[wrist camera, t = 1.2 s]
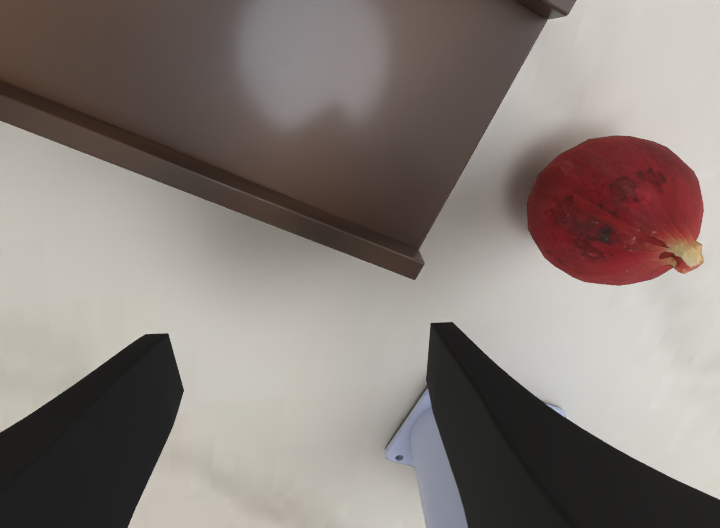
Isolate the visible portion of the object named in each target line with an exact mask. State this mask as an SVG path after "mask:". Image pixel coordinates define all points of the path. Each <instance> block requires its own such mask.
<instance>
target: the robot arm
mask: <svg viewBox="0 0 720 528" xmlns="http://www.w3.org/2000/svg"><path fill="white" fill-rule="evenodd" d="M426 381H427V386H428V388H427V389H426V391H425V392H424V393H423V395H422V396H421V398H420V399H419V401H418V402H417V404H416V405H415V407H414V408H413V410H412V411H411V413H410V414H409V416H408V417H407V419H406V420H405V421H404V423H403V424H402V426H401V427H400V429H399V430H398V432H397V433H396V435H395V436H394V438H393V439H392V441H391V442H390V444H389V445H388V447H387V448H386V449H385V457H386V459H388V460H391V461H394V462H398V463H402V464H406V465H409V466H413V467H415V472H416V477H417V482H418V488H419V493H420V498H421V503H422V508H423V513H424V519H425V524H426V528H720V500H719V499H717V498H715V497H712V496H710V495H708V494H706V493H704V492H701V491H699V490H697V489H695V488H692V487H690V486H688V485H686V484H684V483H681V482H679V481H677V480H675V479H673V478H671V477H669V476H667V475H665V474H663V473H661V472H659V471H657V470H655V469H653V468H651V467H649V466H647V465H645V464H643V463H641V462H639V461H638V460H636V459H634V458H632V457H630V456H628V455H626V454H625V453H623V452H621V451H619V450H617V449H616V448H614V447H612V446H610V445H609V444H607V443H605V442H604V441H602V440H600V439H599V438H597V437H595V436H594V435H592V434H590V433H589V432H587V431H585V430H584V429H582V428H580V427H579V426H577V425H576V424H574V423H573V422H571V421H570V420H568V419H567V418H566V414H565V412H564V411H563V410H562V409H561V408H558V407H555V406H552V405H549V404H546V403H544V402H542V401H541V400H539V399H538V398H537V397H535V396H534V395H533V394H532V393H530V392H529V391H528V390H527V389H525V388H524V387H523V386H522V385H520V384H519V383H518V382H517V381H515V380H514V379H513V378H512V377H511V376H509V375H508V374H507V373H506V372H505V371H503V370H502V369H501V368H500V367H499V366H498V365H497V364H496V363H495V362H493V361H492V360H491V359H490V358H489V357H488V356H487V355H486V354H485V353H484V352H483V351H482V350H481V349H480V348H478V347H477V346H476V345H475V344H474V343H473V342H472V341H471V340H470V339H469V338H468V337H467V336H466V335H465V334H464V333H463V332H462V331H461V330H460V329H459V328H458V327H457V326H456V325H455V324H454V323H453V322H446V323H431V327H430V340H429V352H428V364H427V376H426ZM183 392H184V389H183V385H182V382H181V378H180V375H179V371H178V367H177V364H176V360H175V356H174V353H173V349H172V345H171V342H170V338H169V334H168V333H167V334H145V335H144V336H142V337H140V338H139V339H137V340H136V341H134V342H133V343H132V344H130V345H129V346H127V347H126V348H124V349H123V350H122V351H120V352H119V353H118V354H116V355H115V356H113V357H112V358H111V359H109V360H108V361H107V362H105V363H104V364H102V365H101V366H100V367H98V368H97V369H95V370H94V371H93V372H91V373H90V374H89V375H87V376H86V377H84V378H83V379H82V380H80V381H79V382H77V383H76V384H75V385H73V386H72V387H70V388H69V389H67V390H66V391H64V392H63V393H61V394H60V395H58V396H57V397H55V398H54V399H52V400H51V401H49V402H48V403H46V404H45V405H43V406H42V407H40V408H39V409H38V410H36V411H35V412H33V413H32V414H30V415H28V416H27V417H25V418H24V419H22V420H20V421H19V422H17V423H16V424H14V425H12V426H11V427H9V428H7V429H6V430H4V431H2V432H1V433H0V528H128V525H129V523H130V520H131V518H132V516H133V513H134V511H135V508H136V506H137V504H138V502H139V500H140V497H141V495H142V493H143V491H144V489H145V487H146V484H147V482H148V480H149V478H150V476H151V474H152V471H153V469H154V467H155V465H156V463H157V461H158V458H159V456H160V454H161V452H162V450H163V447H164V445H165V443H166V441H167V439H168V436H169V434H170V432H171V429H172V427H173V425H174V422H175V419H176V415H177V412H178V409H179V406H180V402H181V399H182V395H183Z"/></svg>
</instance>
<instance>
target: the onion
mask: <svg viewBox="0 0 720 528" xmlns="http://www.w3.org/2000/svg"><path fill="white" fill-rule="evenodd" d="M703 212H704V210H703V200H702V195H701V191H700V186H699V181H698V179H697V177H696V175H695V173H694V171H693V170H692V169H691V168H690V167H688V166H687V165H686V164H685V163H684V162H683V161H682V160H681V159H680V158H679V157H678V156H677V155H676V154H674V153H673V152H672V151H671V150H670V149H669V148H667V147H665V146H663V145H660V144H658V143H656V142H653V141H649V140H644V139H640V138H635V137H631V136H609V137H602V138H595V139H589V140H587V141H585V142H583V143H581V144H579V145H577V146H575V147H573V148H571V149H569V150H567V151H566V152H564V153H562V154H560V155H558V156H557V157H556V158H555V159H554V160H553V161H552V162H551V163H550V164H549V165H548V166H547V167H546V168H545V169H544V170H543V171H542V172H541V173H540V174H539V175H538V176H537V179H536V181H535V183H534V186H533V188H532V190H531V193H530V195H529V197H528V202H527V221H528V230H529V232H530V234H531V236H532V238H533V240H534V241H535V243H536V245H537V246H538V248H539V249H540V251H541V253H542V254H543V256H544V258H546V259H547V260H548V261H549V262H550V263H551V264H553V265H554V266H555V267H557V268H559V269H560V270H562V271H564V272H565V273H567V274H569V275H570V276H572V277H574V278H576V279H579V280H581V281H583V282H589V283H597V284H607V285H618V286H620V285H627V284H633V283H637V282H642V281H647V280H651V279H654V278H656V277H658V276H660V275H662V274H663V273H665V272H667V271H668V270H670V269H672V268H674V269H676V270H677V271H678V272H680V273H683V274H685V273H687V272H689V271H691V270H693V269H695V268H697V267H699V266H700V265H701V264H702V263H703V262H704V260H703V256H702V244H700V243H698V242H697V241H696V240H697V238H698V236H699V233H700V228H701V223H702V217H703Z"/></svg>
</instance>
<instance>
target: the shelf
mask: <svg viewBox="0 0 720 528" xmlns="http://www.w3.org/2000/svg"><path fill="white" fill-rule="evenodd" d="M575 2H576V0H0V121H3V122H5V123H8V124H11V125H13V126H16V127H18V128H21V129H24V130H26V131H29V132H31V133H34V134H37V135H39V136H42V137H44V138H47V139H50V140H52V141H55V142H57V143H60V144H63V145H65V146H68V147H70V148H73V149H76V150H78V151H81V152H83V153H86V154H89V155H91V156H94V157H96V158H99V159H102V160H104V161H107V162H109V163H112V164H115V165H117V166H120V167H122V168H125V169H128V170H130V171H133V172H135V173H138V174H141V175H143V176H146V177H148V178H151V179H154V180H156V181H159V182H161V183H164V184H167V185H169V186H172V187H174V188H177V189H179V190H182V191H185V192H187V193H190V194H192V195H195V196H198V197H200V198H203V199H205V200H208V201H211V202H213V203H216V204H218V205H221V206H224V207H226V208H229V209H231V210H234V211H237V212H239V213H242V214H244V215H247V216H250V217H252V218H255V219H257V220H260V221H263V222H265V223H268V224H270V225H273V226H276V227H278V228H281V229H283V230H286V231H289V232H291V233H294V234H296V235H299V236H302V237H304V238H307V239H309V240H312V241H315V242H317V243H320V244H322V245H325V246H328V247H330V248H333V249H335V250H338V251H340V252H343V253H346V254H348V255H351V256H353V257H356V258H359V259H361V260H364V261H366V262H369V263H372V264H374V265H377V266H379V267H382V268H385V269H387V270H390V271H392V272H395V273H398V274H400V275H403V276H405V277H408V278H411V279H413V280H415V279H416V278H417V276H418V274H419V273H420V271H421V269H422V268H423V266H424V260H423V258H422V256H421V254H420V251H419V248H420V247H421V245H422V243H423V241H424V239H425V238H426V236H427V234H428V232H429V230H430V229H431V227H432V225H433V223H434V222H435V220H436V218H437V216H438V214H439V213H440V211H441V209H442V207H443V205H444V204H445V202H446V200H447V198H448V197H449V195H450V193H451V191H452V189H453V188H454V186H455V184H456V182H457V181H458V179H459V177H460V175H461V173H462V172H463V170H464V168H465V166H466V164H467V163H468V161H469V159H470V157H471V156H472V154H473V152H474V150H475V148H476V147H477V145H478V143H479V141H480V139H481V138H482V136H483V134H484V132H485V131H486V129H487V127H488V125H489V123H490V122H491V120H492V118H493V116H494V115H495V113H496V111H497V109H498V107H499V106H500V104H501V102H502V100H503V98H504V97H505V95H506V93H507V91H508V90H509V88H510V86H511V84H512V82H513V81H514V79H515V77H516V75H517V73H518V72H519V70H520V68H521V66H522V65H523V63H524V61H525V59H526V57H527V56H528V54H529V52H530V50H531V49H532V47H533V45H534V43H535V41H536V40H537V38H538V36H539V34H540V32H541V31H542V29H543V27H544V25H545V24H546V22H547V20H548V19H553V18H559V17H564V16H567V15H568V14H569V12H570V10H571V9H572V7H573V5H574V3H575Z"/></svg>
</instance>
